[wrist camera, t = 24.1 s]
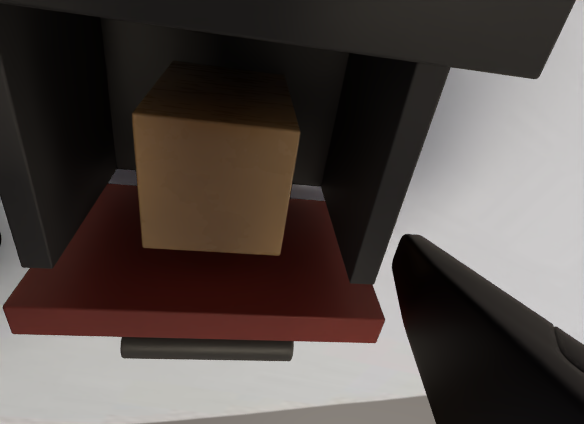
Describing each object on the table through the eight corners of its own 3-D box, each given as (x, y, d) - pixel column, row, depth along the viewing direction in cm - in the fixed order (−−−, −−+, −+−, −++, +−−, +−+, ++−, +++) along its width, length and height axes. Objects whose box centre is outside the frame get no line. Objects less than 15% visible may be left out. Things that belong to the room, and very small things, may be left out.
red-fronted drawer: (321, 285, 22) (348, 413, 15) (105, 274, 20) (40, 414, 14) (426, -132, 12) (604, -223, 6) (30, -220, 10) (-286, -476, 4)
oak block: (285, 74, 14) (301, 131, 9) (272, 172, 16) (280, 256, 12) (172, 60, 13) (130, 112, 9) (174, 163, 16) (141, 248, 11)
